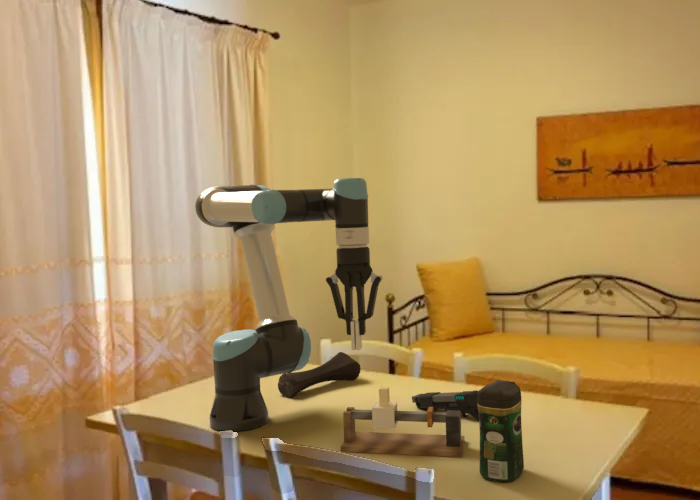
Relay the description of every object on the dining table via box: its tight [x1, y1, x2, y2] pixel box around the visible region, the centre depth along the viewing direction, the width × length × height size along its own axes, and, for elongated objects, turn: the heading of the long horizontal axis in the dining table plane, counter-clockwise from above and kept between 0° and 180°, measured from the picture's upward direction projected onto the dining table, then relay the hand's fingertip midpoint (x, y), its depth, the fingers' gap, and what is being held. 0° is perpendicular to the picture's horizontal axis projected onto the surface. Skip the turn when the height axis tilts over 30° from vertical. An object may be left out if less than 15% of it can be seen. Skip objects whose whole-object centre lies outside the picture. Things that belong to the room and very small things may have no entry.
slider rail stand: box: [340, 406, 466, 458], centre depth 154 cm, size 27×10×9 cm, turn 77°
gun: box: [411, 390, 479, 423], centre depth 177 cm, size 4×20×10 cm, turn 47°
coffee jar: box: [477, 379, 525, 483], centre depth 136 cm, size 10×8×19 cm
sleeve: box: [371, 386, 399, 430], centre depth 155 cm, size 5×5×9 cm
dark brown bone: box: [277, 351, 361, 399], centre depth 207 cm, size 11×10×28 cm
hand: (356, 348), depth 155 cm, fingers closed
